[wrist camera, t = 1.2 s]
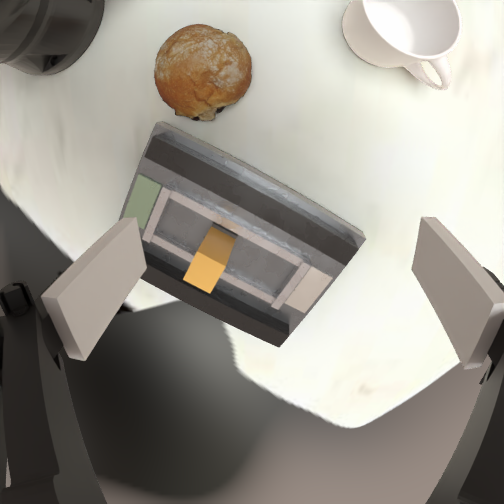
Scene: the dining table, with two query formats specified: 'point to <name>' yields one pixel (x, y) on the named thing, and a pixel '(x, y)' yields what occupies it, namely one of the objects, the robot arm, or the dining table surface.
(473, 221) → the dining table surface
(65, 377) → the robot arm
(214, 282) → the lever
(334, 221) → the panel
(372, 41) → the mug
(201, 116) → the bread roll
